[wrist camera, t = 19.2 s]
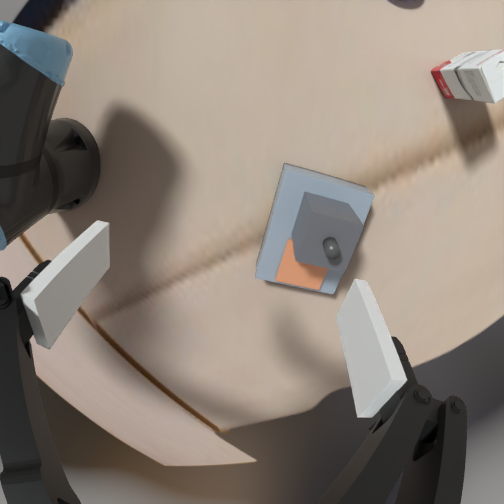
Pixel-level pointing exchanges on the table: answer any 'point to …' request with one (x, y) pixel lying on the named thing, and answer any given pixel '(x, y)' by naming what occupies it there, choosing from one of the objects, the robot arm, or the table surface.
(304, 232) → the plug
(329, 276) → the socket
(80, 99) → the table surface
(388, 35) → the table surface
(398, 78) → the table surface
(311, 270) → the shutter
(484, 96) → the ink box
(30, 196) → the robot arm
